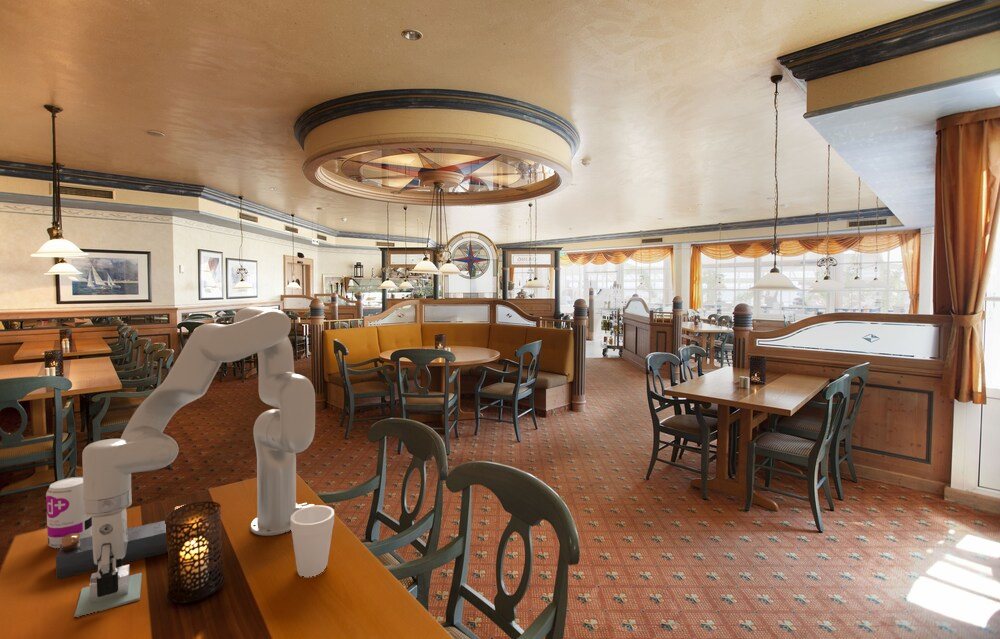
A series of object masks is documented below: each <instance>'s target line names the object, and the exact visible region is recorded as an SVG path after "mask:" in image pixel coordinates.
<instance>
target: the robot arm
mask: <svg viewBox="0 0 1000 639" xmlns="http://www.w3.org/2000/svg"><path fill="white" fill-rule="evenodd" d="M291 329H292V322H291V319H290V317H289V316H288V314H286V313H285V312H284V311H283V310H280V309H276V308H270V307H269V308H268V307H261V306H260V307H259V306H258V307H257V306H247V307H244V308H240V309H239V310H238V311H237V312H236V313H235V314H234V318H233V323H231V324H222V323H221V324H220V323H203V324H201V325H199V326H197V327H196V328H195V329H194V330H193V332H192V333H191V334H190V336H189V337H188V339H187V341H186V343H185V345H184V347H183V348H182V349H181V352H180V353H179V355H178V357H177V359H176V360H175V362H174V364H173V365H172V367H171V369H170V371H169V373H168V374H167V376H166V377H165V379H164V380H163V382H162V383H160V385H159V386H157V387H156V388H155V389H154V390H153V391H152V392H151V393H150V394H149V395H148V396H147V397H146V398H145V399H144V400H143V401H142V402H141V403H140V405H139V406H138V407H137V409H136V410H135V411H134V413H133V414H132V416H131V417H130V419H129V422H128V423H127V425H126V427H125V428H124V430H123V432H122V434H121V436H120V438H108V439H102V440H101V439H100V440H97V441H93V442H91V443H89V444H88V445H87V446H85V447H84V449H83V450H82V458H81V459H82V460H81V461H82V477H83V496H84V514H85V515H87V516H92V535H91V536H92V545H93V559H94V564H96V565H98V570H97V572H98V577H97V596H98V597H101V596H105V595H109V594H112V593H116V592H117V591H118V572H116V568H117V567H121V566H123V563H122V559H123V558H124V557H125V555H126V550H127V543H128V534H127V529H128V519H127V518H128V514H127V508H129V507H130V506H131V505H132V503H133V501H132V474H133V473H140V472H141V473H142V472H150V471H156V470H160V469H163V468H165V467H168V466H169V465H170V464H172V463H173V462H174V461H175V459H177V456H178V455H179V445H178V443H177V441H176V440H175V439H174V438H173V437H171V436H170V435H167V434H165V432H164V430H165V429H166V427H167V425H168V423H169V422H170V421H171V418H172V417H173V416H175V414H176V413H177V412H178V411H179V410H180V409H181V408H182V407H184V406H186V405H188V404H189V403H192V402H194V401H196V400H197V399H201V397H203V396H204V395H205V394H206V393H207V392H208V389H209V388H210V385H211V383H212V382H213V379H214V378H215V376H216V375H217V372H218V370H219V369H220V367H221V366H222V363H233V362H237V361H239V360H243V359H245V358H247V357H250V356H252V355H255V354H257V361H258V395H259V399H260V400H261V401H262V402H263V403H265V404H266V405H268V406H270V407H274V408H272V409H268V410H266V411H263V412H261V413H260V415H259V416H258V417H257V418H256V419H255V423H254V424H253V433H252V434H253V441H254V444H255V452H256V473H257V474H256V479H257V480H256V483H257V484H256V489H257V490H256V491H257V492H256V494H257V496H256V500H257V501H256V504H257V505H256V506H257V507H256V509H257V511H256V512H257V514H256V515H257V516H256V517H255V518H254V519H253V520H252V521H251V523H250V531H251V532H252V533H253V534H255V535H259V536H267V537H269V536H278V535H282V534H284V533H285V532H286V533H288V532H291V531H290V525H291V515H292V514H293V513H294V512H295V511H297V510H300V509H302V508H304V507H309V506H315V504H313V503H311V504H308V502H303V503H299V504H298V503H297V456H296V454H298V453H302V452H304V451H305V450H307V449H308V448H309V446H310V445H311V444H312V442H313V440H314V437H315V431H316V392H315V388H314V385H313V383H312V381H311V380H310V379H309V378H308V377H306V376H304V375H302V374H298V373H295V363H294V351H293V346H292V342H291V340H290V338H289V334H290V332H291ZM163 432H164V433H163ZM286 533H285V534H286Z"/></svg>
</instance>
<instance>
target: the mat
mask: <svg viewBox="0 0 1000 639" xmlns="http://www.w3.org/2000/svg"><path fill="white" fill-rule="evenodd" d="M142 576H143V572H139V573H135V574H131V575H130V585H129V593H128V594H125V595H121V596H118V597H114V598H111V599H107V600H104V601H100V602H96V603H93V604H90V585H88V586H85V587H82V588H81V592H80V593H79V594H80V595H79V598H78V602H77V606H76V608H75V612H74V615H73V616H74V617H77V616H82V615H85V616H87V615H86V614H89V615H91V614H90V613H92V614H94V613H93V612H95V613H98V612H97V611H99V612H101V611H105V610H109V609H114V608H115V607H120V606H122V605H123V606H124V605H126V604H129V603H133V602H137V601H140V600H141V591H142V590H141V589H142ZM82 617H83V616H82Z"/></svg>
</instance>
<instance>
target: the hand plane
mask: <svg viewBox="0 0 1000 639" xmlns="http://www.w3.org/2000/svg"><path fill="white" fill-rule="evenodd" d="M184 505H185V504H181V505H178V506H175V507H174V511H175V510H176V509H178V508H180V507H182V506H184ZM127 534H128V543H127V550H126V555H125V557H124V558H123V559H122V564H125V563H126V564H127V563H130V562H133V561H139V560H142V559H146V558H150V557H154V556H158V555H162V554H165V553H166V552H167V543H166V524H165V520H161V521H157V522H153V523H152V522H151V523H147V524H144V525H143V524H142V525H138V526H134V527H129V528H128V527H127ZM167 553H168V552H167ZM55 570H56V572H55V574H56V580H62V579H65V578H68V577H73V576H78V575H81V573H82V574H86V573H90V572H94V571H98V565H96V564H94V559H93V545H92V535H91V536H90V537H86V538H82V539H80V534H79V533H72V534H68V535H66V536H64V537H62V544H61V546H60V549H58V551H57V554H56V557H55ZM93 570H94V571H93ZM89 571H90V572H89ZM85 572H86V573H85Z"/></svg>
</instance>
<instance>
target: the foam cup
mask: <svg viewBox="0 0 1000 639" xmlns="http://www.w3.org/2000/svg"><path fill="white" fill-rule="evenodd" d="M334 525H335V509H333V508H332V507H331V506H327V505H323V504H321V505H319V504H317V505H314V506H309V507H304V508H302V509H300V510H297V511H295V512H294V513H293V514H292V515H291V525H290V530H291V531H290V532H291V536H292V544H293V550H294V558H295V564H296V571H297V574H298V575H299V576H300V577H302V576H304V577H303V578H313V577H312V576H314V577H317V576H316V575H318V574H320V573H321V572H323V571H324V569H325V568H326V566H328V561H329V555H330V547H331V541H332V537H333V536H332V534H333V529H334V528H333V527H334ZM324 572H325V571H324ZM324 572H323V573H324ZM321 574H322V573H321ZM321 574H320V575H321ZM309 576H310V577H309ZM318 576H319V575H318Z"/></svg>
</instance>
